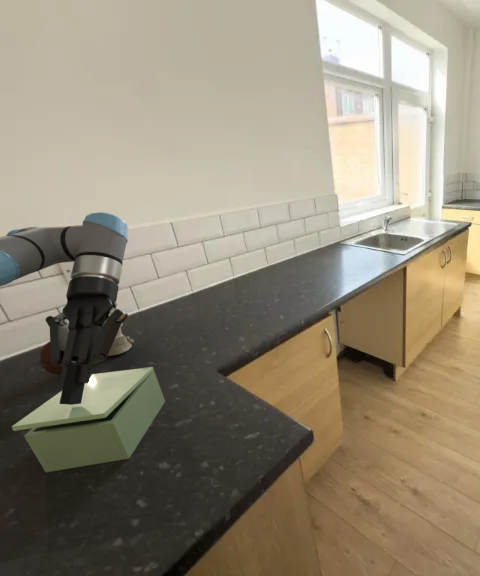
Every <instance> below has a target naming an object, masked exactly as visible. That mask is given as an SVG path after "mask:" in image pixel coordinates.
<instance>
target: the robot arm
mask: <svg viewBox="0 0 480 576" xmlns="http://www.w3.org/2000/svg"><path fill="white" fill-rule="evenodd" d="M128 234H129V226H128V224H127V222H126V221H125V220H124V219H122V218H121V217H119V216H118V215H114V214H111V213H109V212H101V211H100V212H99V211H95V212H91V213H89V214H87V215H86V216H85V217H84V220H82V224H77V225H74V224H73V225H68V226H43V227H42V226H41V227H40V226H39V227H38V226H29V227H24V228H15V229H12V230H10V231H8V232H7V234H6V235H3V236H0V287H2V286H6V285H9V284H11V283H12V282H14V281H16V280H18V279H21V278H23V277H26V276H28V275H30V274H34V273H37V272H39V271H41V270H44V269H46V268H49V267H52V266H54V265H57V264H62V263H72V262H73V265H72V269H71V272H70V276H69V277H70V281H69V282H68V285H67V289H66V290H67V291H66V294H65V296H66V301H67V303H66V304H65V306H64V307H63V308H62V312H59V313H58V314H56V315H53V316H52V315H48V316H46V317H45V322H46V324H47V325H48V328H49V342H50V349H51V363H52V364H56V365H61V366H62V367H63V370H62V374H61V375H60V380H59V385H60V386H62V390H61V391H62V394H61V398H60V403H59V404H68V405H74V404H81V401H82V396H83V390H84V385H85V383H88V382H89V381H90V377H91V374H92V370H93V366H95V364H97V363H100V362H103V363H104V362H105V361H106V360H107V358H108V357H109V356H108V353H109V351H110V349H111V347H112V344H113V342H114V340H115V337H116V335H117V333H118V330H119V328H120V326H121V324H122V323H123V324H124V322H125V321H126V320H127V319H128V317H129V314H128V313H127V312H125V311H123V310H121V309H118V308H117V306H116V305H115V302H116V303H117V299H118V293H119V288H120V287H119V284H120V281H121V276H122V271H123V261H124V256H125V253H126V247H127V243H128V241H129V240H128ZM116 308H117V309H116ZM106 320H107V321H106ZM67 321H68V322H69V324H68V323H67ZM105 321H106V323H105V325H104V322H105ZM67 324H68V329H69V334H68V333H67V327H66V325H67ZM79 364H80V365H79Z"/></svg>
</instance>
